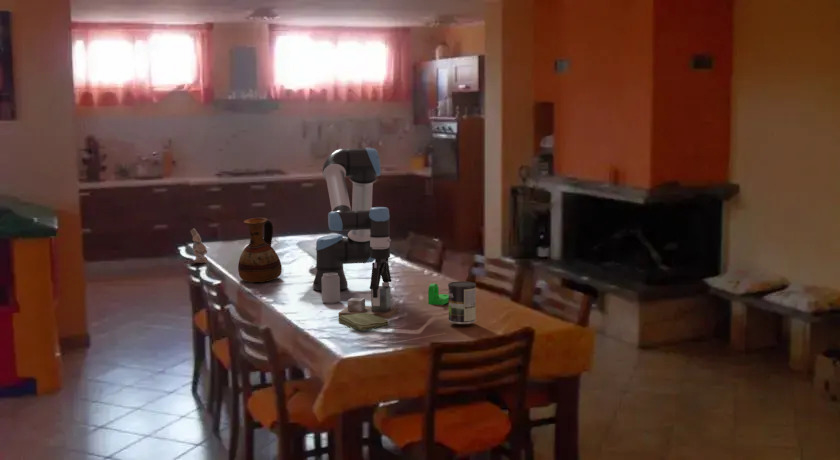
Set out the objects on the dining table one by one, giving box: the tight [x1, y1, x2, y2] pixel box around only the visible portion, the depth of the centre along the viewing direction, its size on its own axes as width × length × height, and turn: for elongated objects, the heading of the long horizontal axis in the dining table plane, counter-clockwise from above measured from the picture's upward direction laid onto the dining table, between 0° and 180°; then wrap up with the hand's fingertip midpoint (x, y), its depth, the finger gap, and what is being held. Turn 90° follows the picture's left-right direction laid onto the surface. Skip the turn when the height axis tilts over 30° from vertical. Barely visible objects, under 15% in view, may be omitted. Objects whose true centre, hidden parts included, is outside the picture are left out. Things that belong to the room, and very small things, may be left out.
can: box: [321, 273, 341, 305], centre depth 386 cm, size 8×8×12 cm
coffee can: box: [447, 280, 477, 325], centre depth 347 cm, size 10×10×14 cm
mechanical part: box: [427, 283, 449, 306], centre depth 384 cm, size 12×6×8 cm, turn 153°
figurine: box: [190, 228, 208, 264], centre depth 481 cm, size 9×8×20 cm
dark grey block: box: [370, 285, 392, 312], centre depth 361 cm, size 6×6×9 cm
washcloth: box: [337, 313, 389, 331], centre depth 345 cm, size 13×18×3 cm
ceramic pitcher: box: [237, 216, 283, 283], centre depth 436 cm, size 20×20×30 cm
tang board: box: [338, 297, 400, 320], centre depth 362 cm, size 20×14×6 cm
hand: (381, 302), depth 361 cm, fingers open, 13 cm apart
